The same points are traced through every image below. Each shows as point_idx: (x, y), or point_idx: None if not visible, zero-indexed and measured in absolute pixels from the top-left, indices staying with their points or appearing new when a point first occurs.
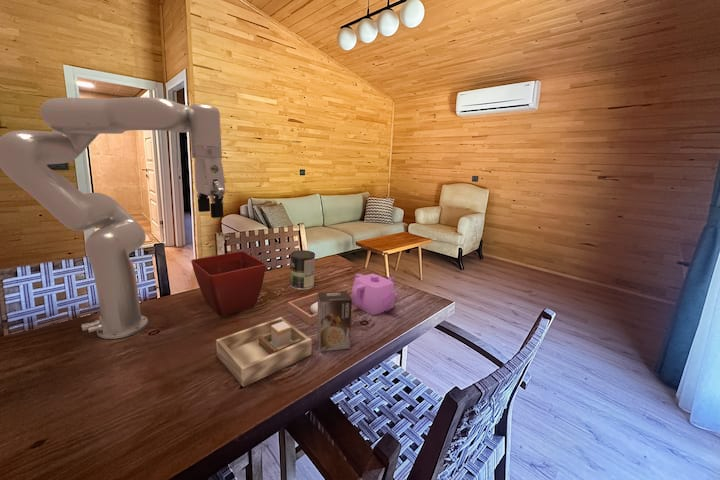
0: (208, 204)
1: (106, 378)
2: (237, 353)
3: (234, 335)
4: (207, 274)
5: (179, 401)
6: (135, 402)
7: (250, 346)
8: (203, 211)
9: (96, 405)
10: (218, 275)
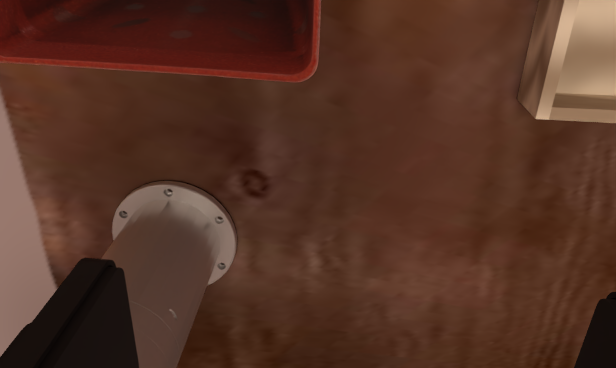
0: (74, 351)
1: (397, 304)
2: (579, 56)
3: (563, 59)
4: (273, 80)
5: (605, 230)
6: (528, 286)
7: (583, 2)
8: (134, 337)
9: (475, 329)
10: (318, 36)
